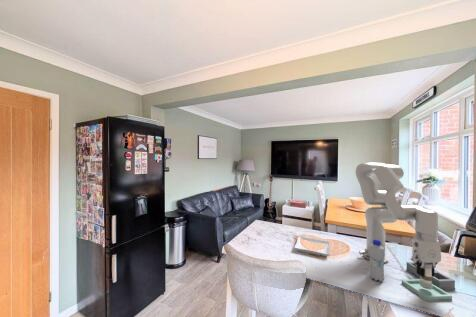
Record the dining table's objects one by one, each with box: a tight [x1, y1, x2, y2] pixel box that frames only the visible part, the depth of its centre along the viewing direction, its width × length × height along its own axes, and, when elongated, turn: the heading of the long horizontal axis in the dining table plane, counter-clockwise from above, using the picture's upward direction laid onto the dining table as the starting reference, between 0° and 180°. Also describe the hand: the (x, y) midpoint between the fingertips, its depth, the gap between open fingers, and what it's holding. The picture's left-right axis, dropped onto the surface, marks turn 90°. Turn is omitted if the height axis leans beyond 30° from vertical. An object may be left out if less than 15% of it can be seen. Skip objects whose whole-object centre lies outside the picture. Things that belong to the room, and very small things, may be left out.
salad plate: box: [294, 236, 331, 257], centre depth 132 cm, size 21×21×3 cm
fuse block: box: [406, 261, 456, 290], centre depth 100 cm, size 17×8×4 cm, turn 4°
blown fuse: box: [419, 261, 433, 290], centre depth 91 cm, size 4×4×11 cm
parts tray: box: [401, 278, 453, 302], centre depth 91 cm, size 12×12×2 cm
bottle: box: [368, 240, 386, 283], centre depth 100 cm, size 7×7×20 cm
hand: (425, 274), depth 91 cm, fingers closed on blown fuse, 4 cm apart
